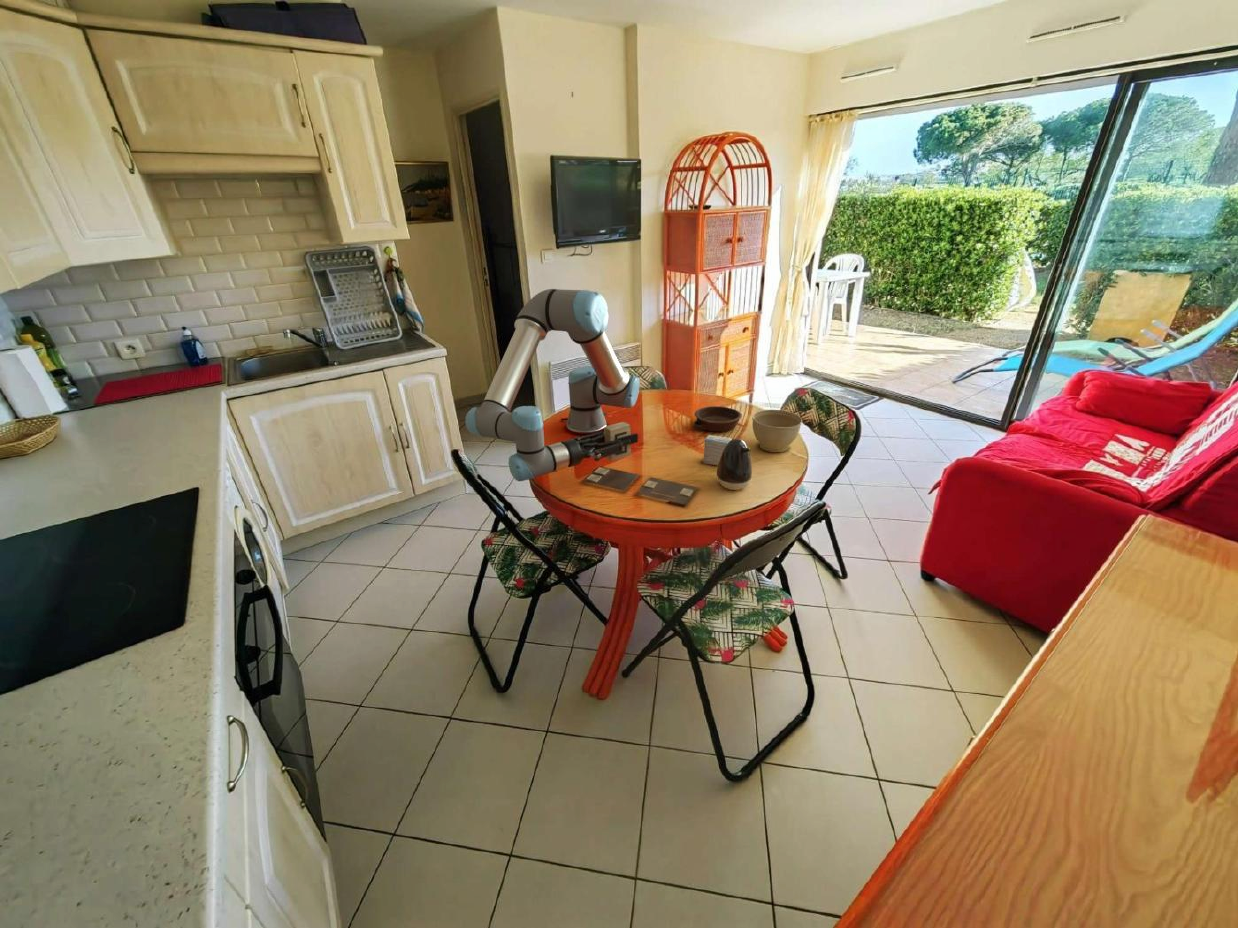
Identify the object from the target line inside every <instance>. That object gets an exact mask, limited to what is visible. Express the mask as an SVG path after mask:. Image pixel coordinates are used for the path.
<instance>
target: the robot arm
mask: <svg viewBox="0 0 1238 928" xmlns="http://www.w3.org/2000/svg"><path fill="white" fill-rule="evenodd" d="M608 310H609V307H608V304H607V301H606V299H605V298H604V296H603V295H602V294H601V293H599V292H597V291H593V290H588V289H560V288H559V289H557V288H549V289H544V290H542V291H540V292H538V293H537V294H534V295H533V296H532V297H531V298H530V299H529V300H528V301H527V302H526V303H525V305H524V306H523V307H522V309H521V310H520V311H519V313H518V314H517V317H516V319H515V321H514V325H513V326H514V329H515V330H514V332H513V335H512V337H511V339H510V341H509V343H508V345H507V347H506V350H505V352H504V355H503V357H502V359H501V362H499V366H498V368H497V369H496V373H495V374H494V377H493V379H492V382H491V384H490V386H489V387H488V389H487V393H486V394H485V397H484V399H483V400H482V403H481V405H480V406H476V407H475V406H474V407H472V408H471V409H470V410H468V412H467V413H466V416H465V427H466V429H467V431H468V432H469V433H470V434H472V435H475V436H479V437H483V438H490V439H497V440H502V441H508V442H513V443H514V444H515V450H516V451H515V453H514V454H512V455H510V456H509V457H508V469H509V472H510V474H511V475H512V477H513V479H514V480H515V481H517V482H524V481H528V480H534V479H536V478H539V477H541V476H545V475H548V474H551V473H557V472H558V471H561V470H564V469H567V468H572V467H575V466H579V465H580V464H582V461H583V460H584V459H590V458H593V459H594V461H595V462H599V461H600V460H602V459H603V458H604V459H605V457H607V456H610V455H613V454H616V453H619V452H622V447H623V446H626V445H630V444H631V445H634V444H636V443H639V434H638V433H637V432H635V433H632V434H631V433H630V435H628V436H624V437H621V438H618V440H615V441H610V442H605V437H604V427H605V426H608V425H607V420H606V417H607V416H608V415H607V412H604V411H603V409H602V405H603V406H610V407H615V408H622V409H632V408H633V407H634V406H635V405H636V403H637V401H638V397H639V392H640V378H639V376H637V375H634V374H633V375H631V374H630V373H629V371H628V370H627V368H626V367H625V366H623V365H621V363H620V361H619V359H618V358H617V354H616V353H615V351H614V349H613V347H612V344H611V342H610V340H609V337H608V336H607V334H606V332H605V330H607V327H608V324H609V316H610V315H609V312H608ZM551 331H553V332H554V331H555V332H566V333H567V334H568V337H569V338H570V340H571V341H573V342H574V343H575V344H578V345H580V347H581V349H582V351H583V353H584V355H585V356H586V358H587V360H588V362H589V364H590V365H586V366H585V365H584V366H580V367H577V368H574V369H572V370H570V372H569V373H568V383H567V385H568V392H569V393H568V395H569V408H570V409H569V412H568V416H567V417H562V418H560V421H566V430H567V431H568V432H570V433H572V434H574V435H580V436H574V437H573V438H570V439H566V440H563V441H557V442H555V443H551V444H547V445H545V433H544V432H545V431H544V422H543V418H542V417H543V415H542V412H541V410H540V408H538V407H537V406H534V405H527V406H526V405H522V406H518V407H516V408H514V409H513V410H512V407H513V405H514V402H515V401H516V397H517V395H518V393H519V391H520V388H521V386H522V384H523V381H524V379H525V377H526V374H527V372H528V370H529V367H530V365H531V363H532V361H533V358H534V356H535V353H536V351H537V349H538V346H539V344H540V342H541V341H544V340H545V339H546V337H547V335H548V333H549V332H551ZM511 410H512V412H511Z"/></svg>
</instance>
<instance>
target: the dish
mask: <svg viewBox="0 0 1238 928" xmlns="http://www.w3.org/2000/svg"><path fill="white" fill-rule="evenodd" d="M694 417H695V419H696V420H695V421H693V423H692V428H693V429H694V430H705V431H709V432H715V433H716V432H718V433H719V432H721V433H722V432H728V431H731V430H734V429H736V428H737V426H738V424H739V422H740V420H741V418H742V417H743V414H742V412H740V411H739V410H737V409H734V408H731V407H727V406H721V405H720V406H718V405H717V406H716V405H711V406H705V407H701V408H698V409H696V410H695V411H694Z"/></svg>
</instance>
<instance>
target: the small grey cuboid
mask: <svg viewBox="0 0 1238 928" xmlns="http://www.w3.org/2000/svg"><path fill="white" fill-rule="evenodd" d="M603 432H604V437H605V442H610V441H615V440H618V438H621V437H624V436H628V435H631V424H629V423H627V422H626V421H621V422H617V423H614V424H610V425H607V426H605V427H604V431H603ZM631 455H632V444H630V445H626V446H623V447H622V452H619V453H616V454H613V455H610V456H607V457H604V459H607V460H609V461H610V462H614V461H618V460H622V459H625V458H627V457H628V458H629V457H631Z"/></svg>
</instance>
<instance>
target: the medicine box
mask: <svg viewBox="0 0 1238 928" xmlns="http://www.w3.org/2000/svg"><path fill="white" fill-rule="evenodd" d="M732 439H733V438H732V437H726V436H720V435H714V434H713V435H712V434H708V435H707V436H706V437H705V439H704V444H703V446H704V447H703V460H702V461H703V464H707V465H712V466H718V463H719V460H720V457H721V454H722V452H723V450H724V448H725V446H726V445H727V444H728V442H729V441H731V440H732Z"/></svg>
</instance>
